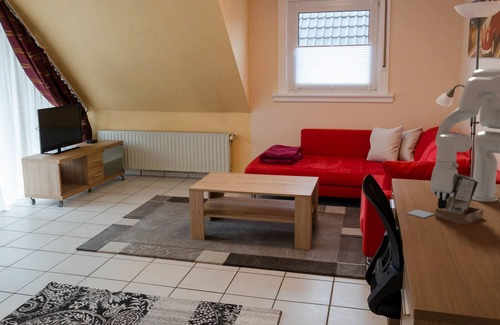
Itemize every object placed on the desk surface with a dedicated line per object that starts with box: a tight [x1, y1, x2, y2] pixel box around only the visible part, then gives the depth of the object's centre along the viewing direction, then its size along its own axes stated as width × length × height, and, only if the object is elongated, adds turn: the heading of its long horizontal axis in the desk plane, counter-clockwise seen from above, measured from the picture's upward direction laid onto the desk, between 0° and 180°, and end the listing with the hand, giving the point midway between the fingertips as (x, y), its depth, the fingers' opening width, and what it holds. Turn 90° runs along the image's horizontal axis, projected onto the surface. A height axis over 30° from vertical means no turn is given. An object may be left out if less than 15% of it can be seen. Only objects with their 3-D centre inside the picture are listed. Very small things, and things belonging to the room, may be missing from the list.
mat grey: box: [406, 209, 435, 219], centre depth 202 cm, size 8×8×1 cm
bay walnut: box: [434, 206, 484, 226], centre depth 197 cm, size 14×13×4 cm
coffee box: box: [444, 173, 478, 215], centre depth 198 cm, size 9×6×16 cm
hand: (441, 208), depth 202 cm, fingers closed
